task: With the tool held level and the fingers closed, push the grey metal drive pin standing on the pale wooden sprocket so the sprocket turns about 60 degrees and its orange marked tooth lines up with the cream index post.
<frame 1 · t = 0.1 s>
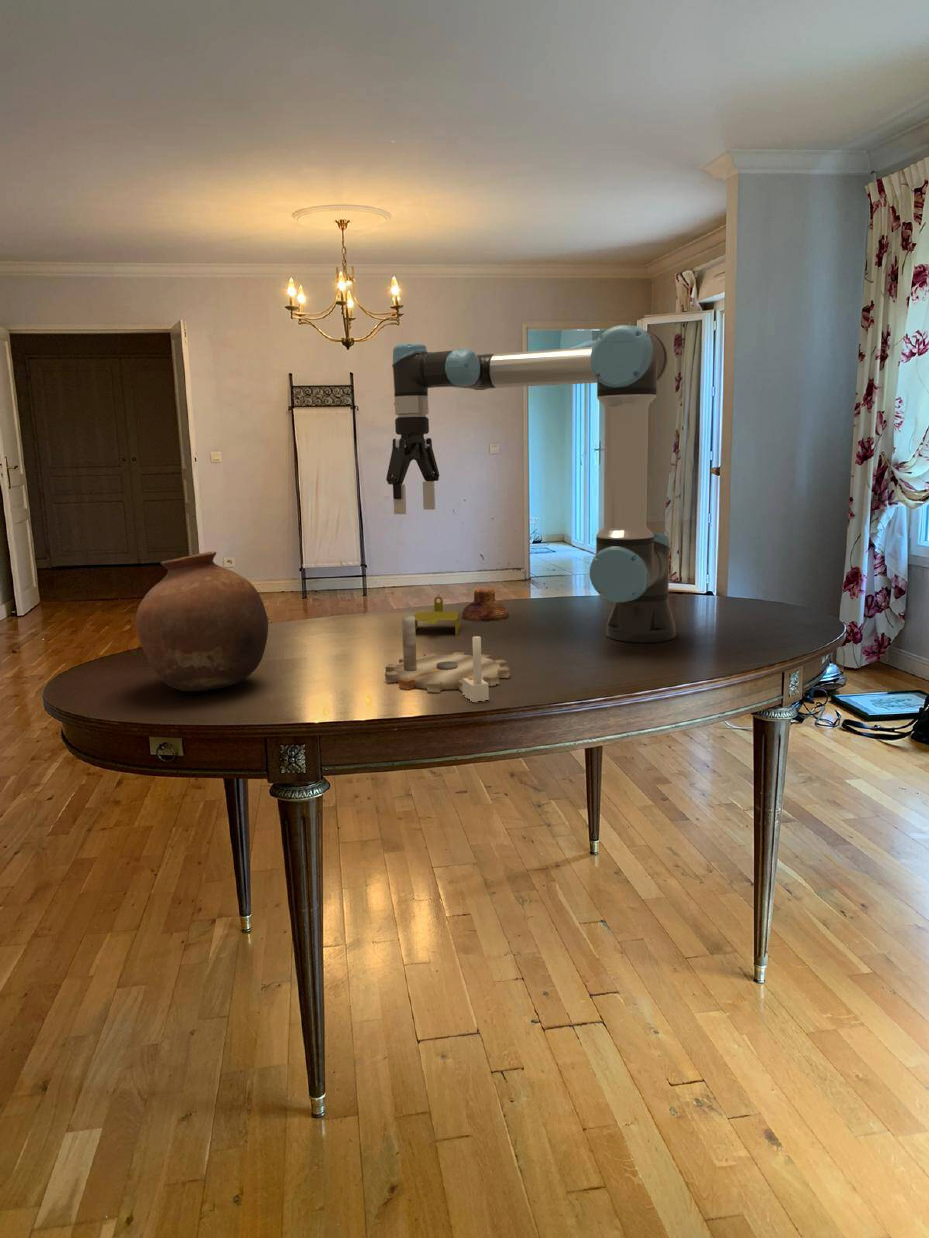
hand: (415, 512, 200), 28 cm above the table, tool pointing down, fingers open, 13 cm apart
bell: (485, 618, 221), on the table
pottery: (208, 687, 163), on the table
index post: (475, 697, 151), on the table
bracket: (435, 635, 204), on the table
letter holder: (209, 654, 189), on the table
sprocket: (446, 645, 165), point 6 cm above the table, hinge at 0.0°
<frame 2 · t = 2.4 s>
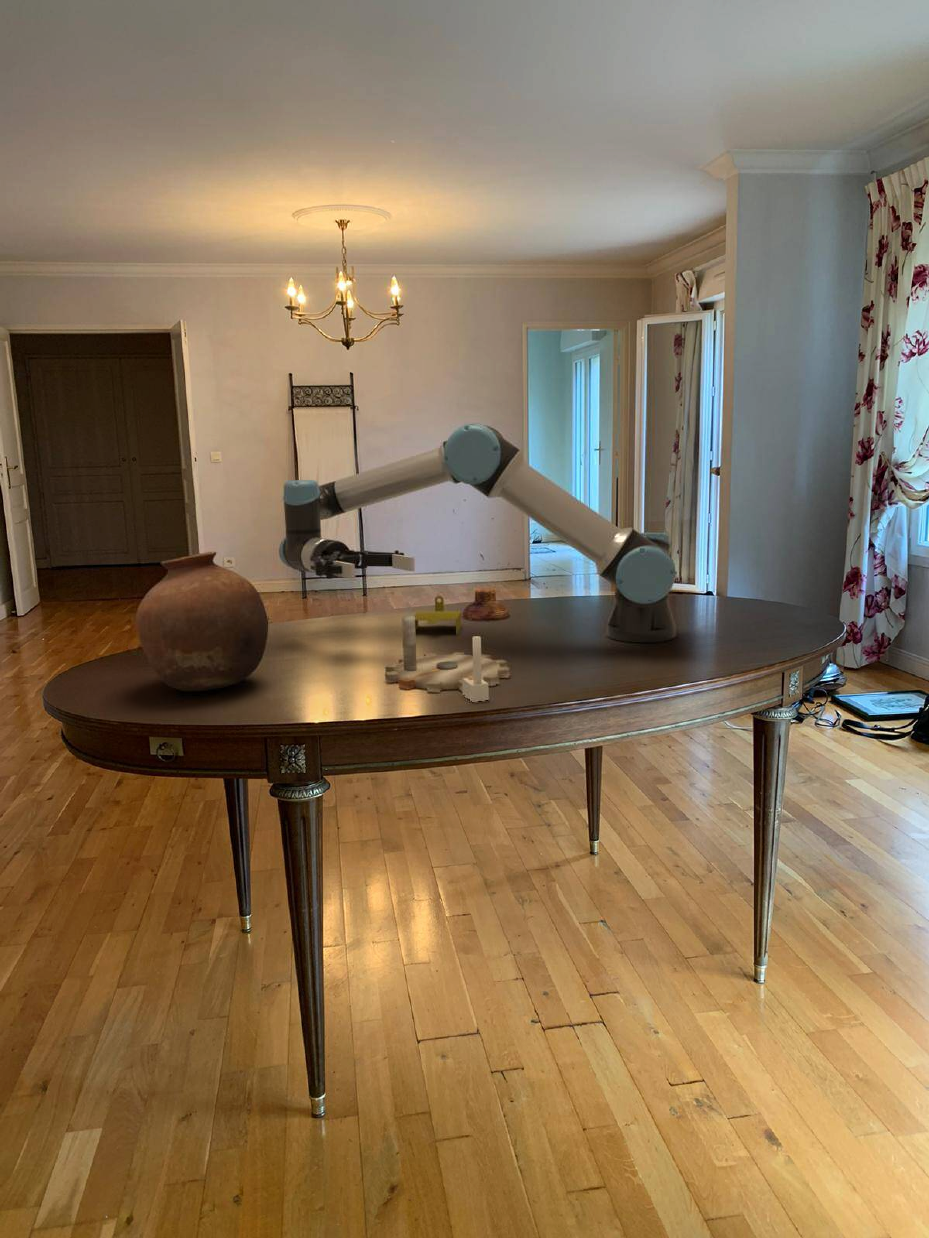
hand: (383, 567, 166), 20 cm above the table, tool horizontal, fingers open, 13 cm apart
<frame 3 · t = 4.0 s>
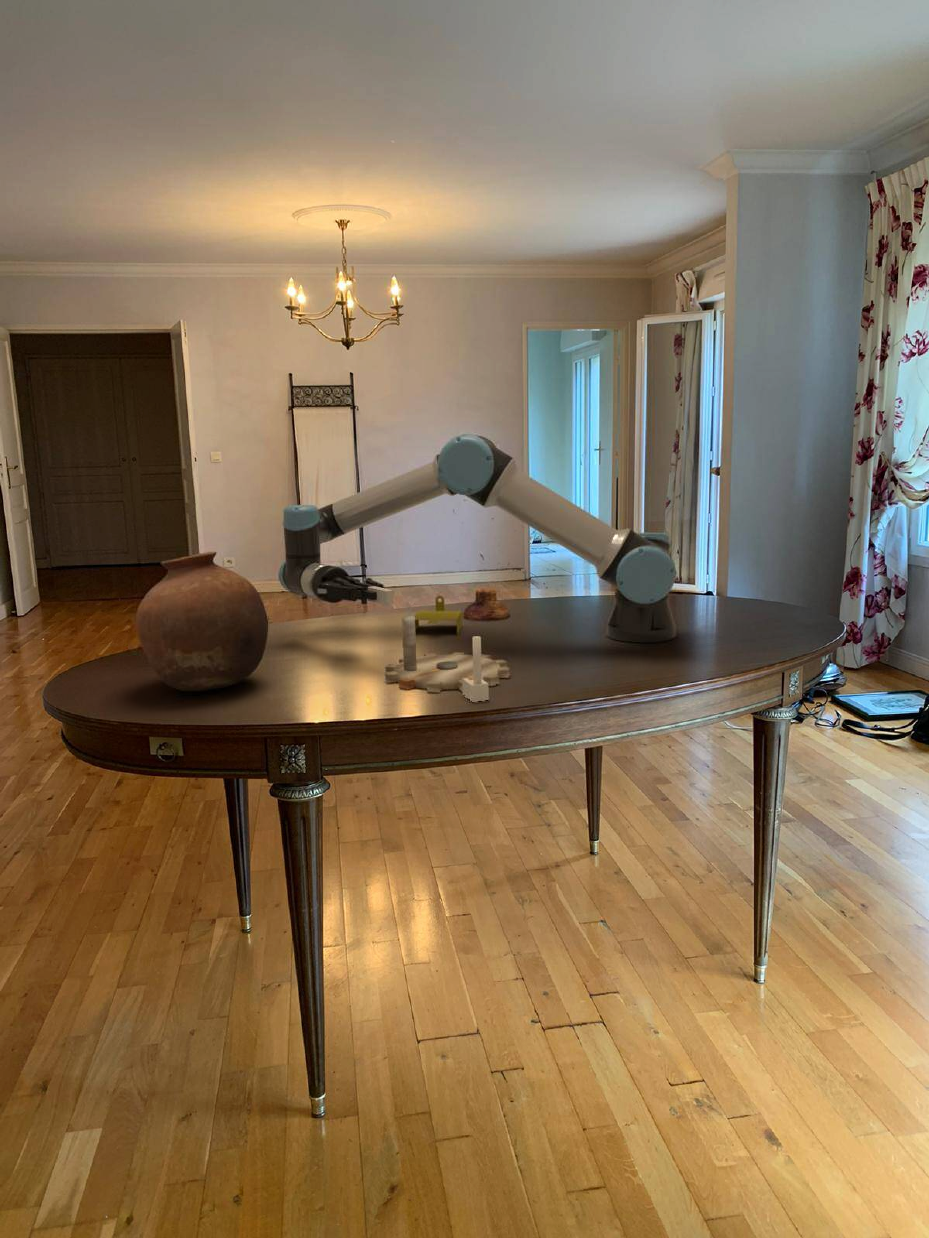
hand: (389, 597, 166), 15 cm above the table, tool horizontal, fingers closed
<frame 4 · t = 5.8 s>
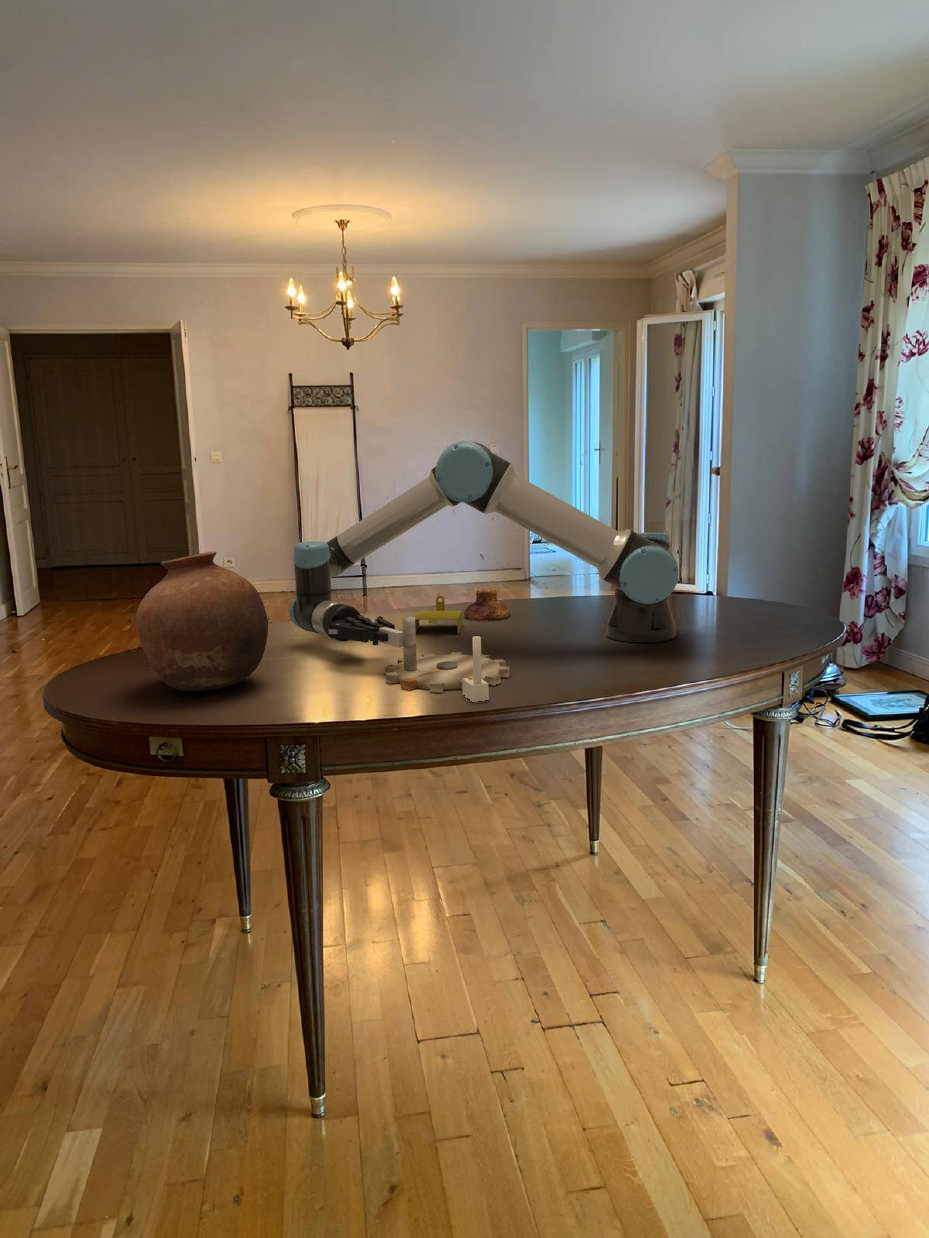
hand: (401, 639, 164), 7 cm above the table, tool horizontal, fingers closed
sprocket: (446, 645, 165), point 6 cm above the table, hinge at 2.5°, touching gripper
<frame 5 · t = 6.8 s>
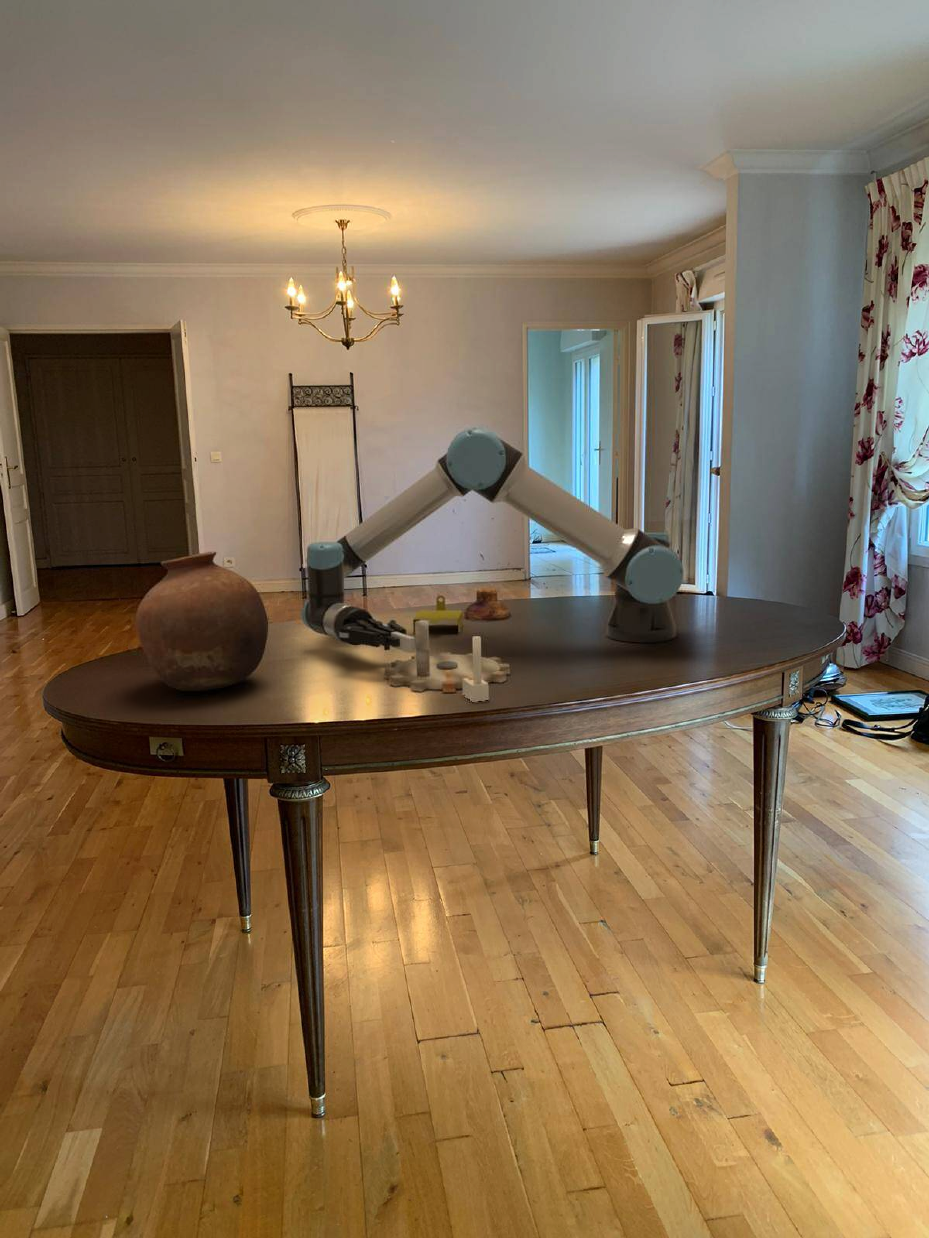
hand: (412, 645, 159), 7 cm above the table, tool horizontal, fingers closed
sprocket: (446, 645, 165), point 6 cm above the table, hinge at 43.9°, touching gripper
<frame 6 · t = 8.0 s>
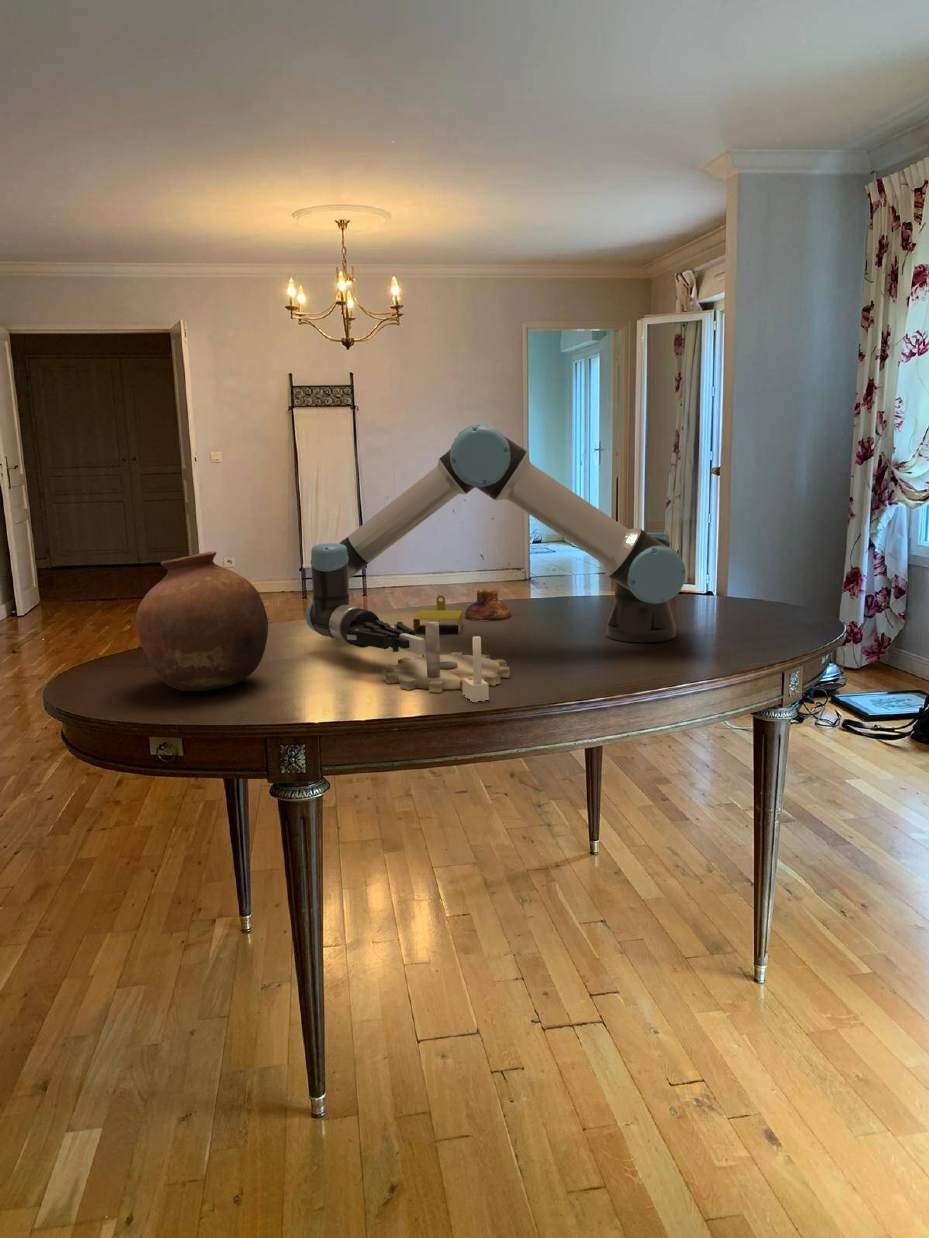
hand: (422, 646, 158), 7 cm above the table, tool horizontal, fingers closed
sprocket: (446, 645, 165), point 6 cm above the table, hinge at 61.8°, touching gripper
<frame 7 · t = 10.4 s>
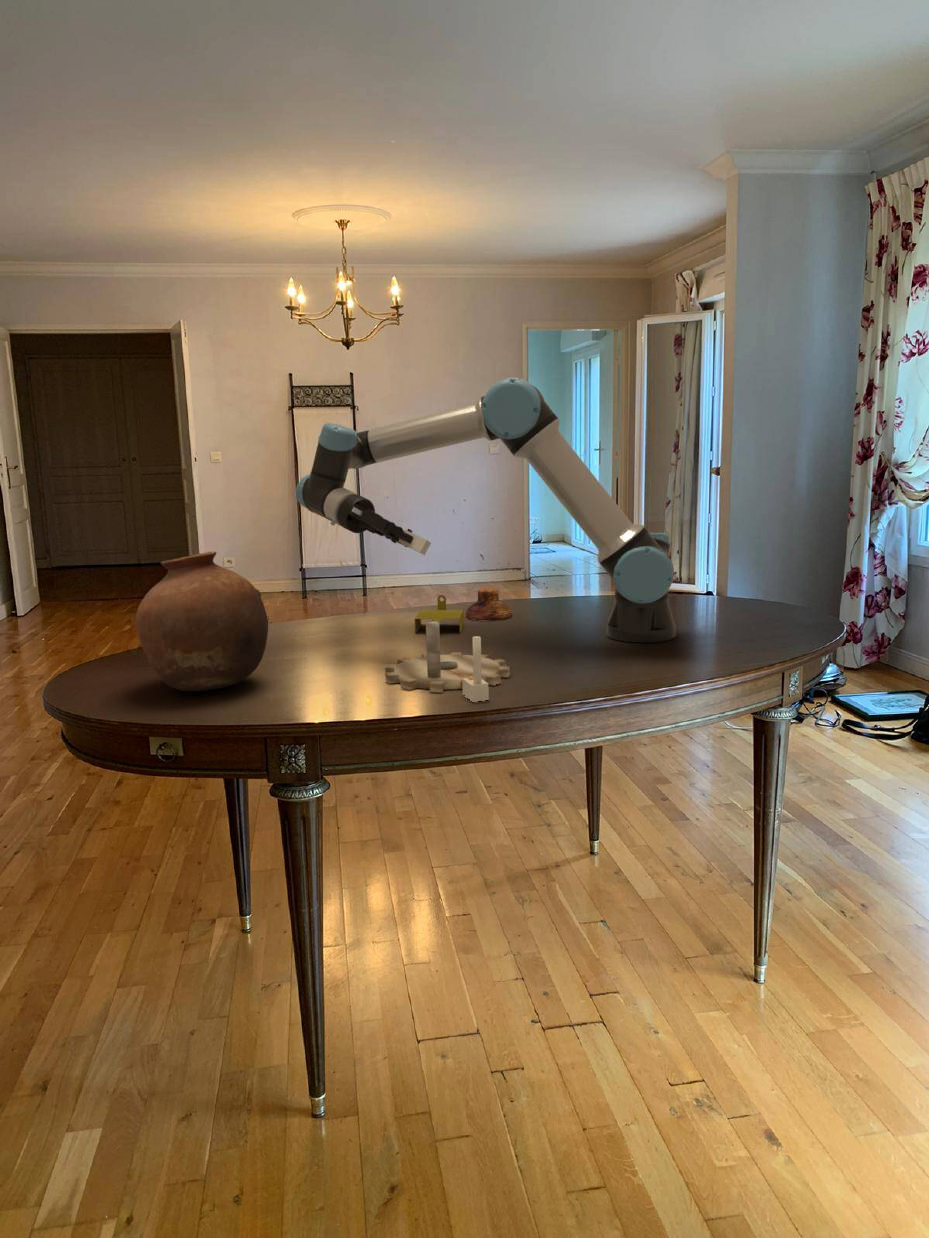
hand: (425, 547, 168), 24 cm above the table, tool tilted 75°, fingers closed
sprocket: (446, 645, 165), point 6 cm above the table, hinge at 62.6°
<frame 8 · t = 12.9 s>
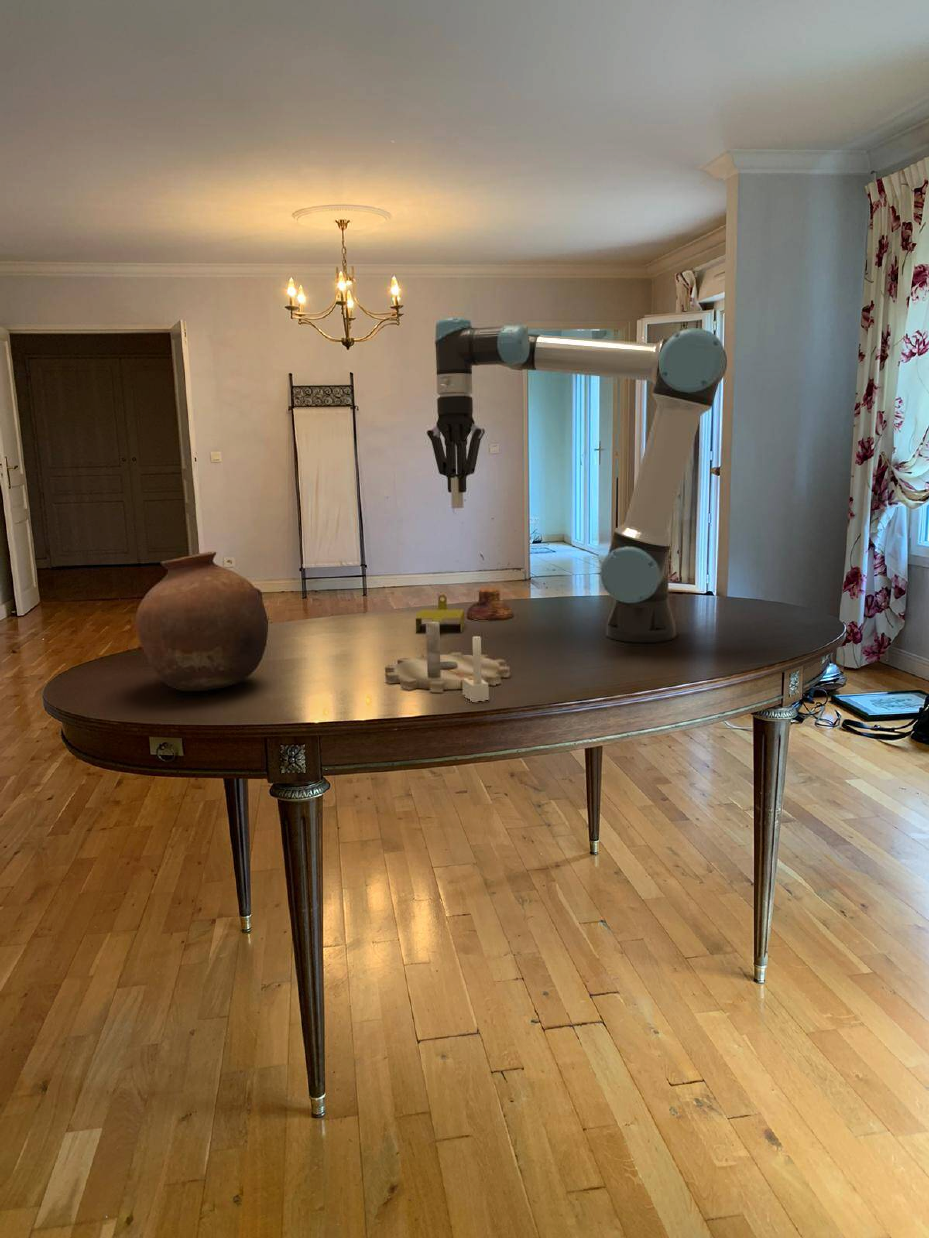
hand: (457, 507, 190), 29 cm above the table, tool pointing down, fingers closed
at the end: sprocket at +63° (first picture: +0°) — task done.
